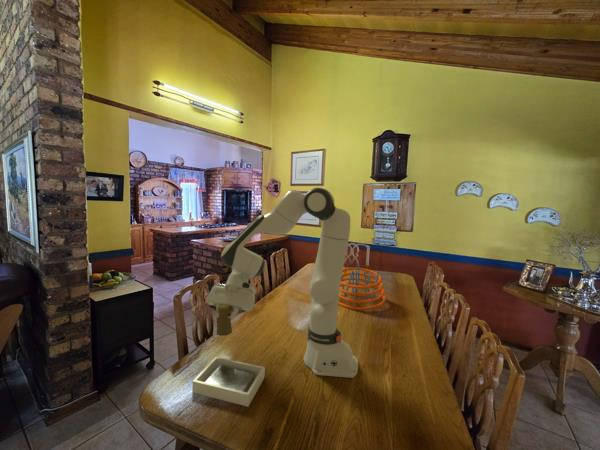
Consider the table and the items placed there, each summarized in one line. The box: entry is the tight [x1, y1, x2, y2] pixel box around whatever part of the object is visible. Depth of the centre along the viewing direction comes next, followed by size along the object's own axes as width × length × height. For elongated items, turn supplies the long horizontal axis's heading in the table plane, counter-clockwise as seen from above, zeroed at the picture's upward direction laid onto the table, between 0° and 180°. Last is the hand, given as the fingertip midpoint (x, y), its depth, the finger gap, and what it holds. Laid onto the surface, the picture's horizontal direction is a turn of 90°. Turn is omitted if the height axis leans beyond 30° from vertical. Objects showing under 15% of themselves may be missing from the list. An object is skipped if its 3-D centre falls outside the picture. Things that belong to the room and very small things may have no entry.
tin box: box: [206, 365, 255, 392], centre depth 90 cm, size 14×10×2 cm
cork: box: [216, 304, 233, 337], centre depth 104 cm, size 6×6×11 cm
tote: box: [192, 356, 266, 408], centre depth 90 cm, size 20×14×5 cm
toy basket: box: [338, 263, 387, 311], centre depth 175 cm, size 34×35×24 cm
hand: (223, 317), depth 103 cm, fingers closed on cork, 4 cm apart
